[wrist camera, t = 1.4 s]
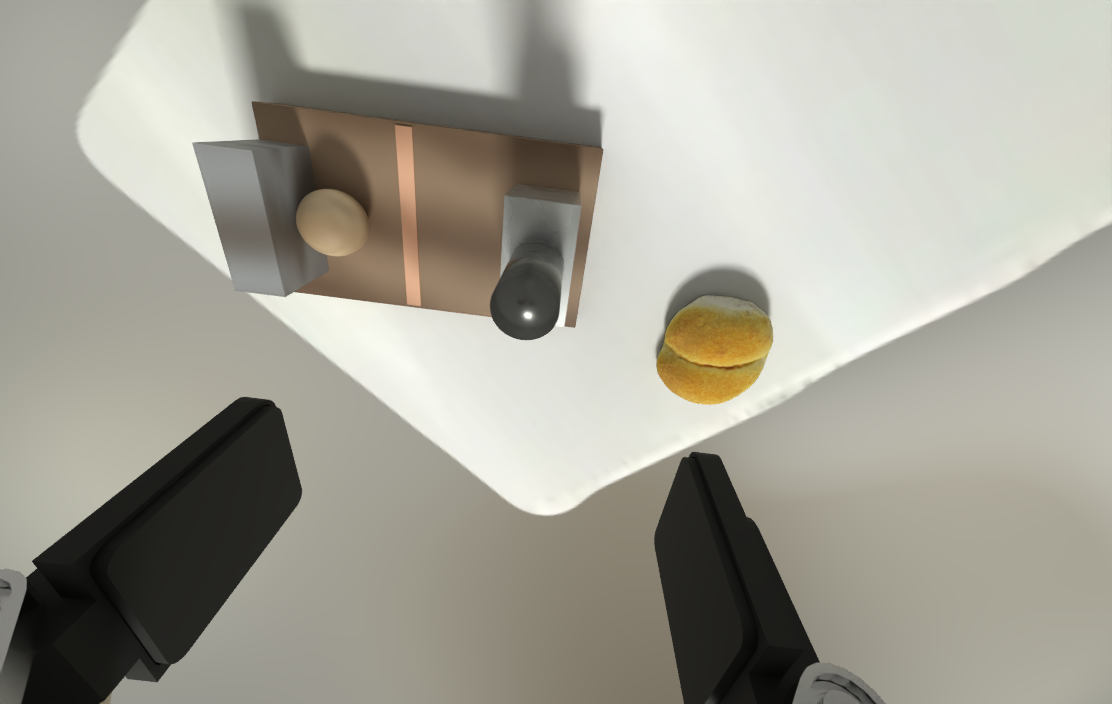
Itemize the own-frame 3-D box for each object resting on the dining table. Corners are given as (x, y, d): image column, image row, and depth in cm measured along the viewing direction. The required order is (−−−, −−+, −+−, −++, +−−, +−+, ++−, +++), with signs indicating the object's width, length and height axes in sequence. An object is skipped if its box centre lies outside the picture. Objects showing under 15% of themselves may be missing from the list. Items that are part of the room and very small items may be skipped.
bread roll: (646, 384, 35) (654, 413, 32) (674, 287, 31) (687, 307, 27) (740, 396, 35) (758, 426, 32) (781, 301, 31) (807, 324, 27)
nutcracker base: (273, 103, 26) (178, 96, 20) (601, 147, 26) (609, 154, 20) (308, 282, 32) (243, 320, 25) (575, 316, 32) (574, 361, 26)
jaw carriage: (516, 183, 25) (480, 219, 16) (580, 192, 25) (583, 232, 16) (509, 289, 28) (476, 371, 19) (566, 297, 28) (560, 382, 19)
